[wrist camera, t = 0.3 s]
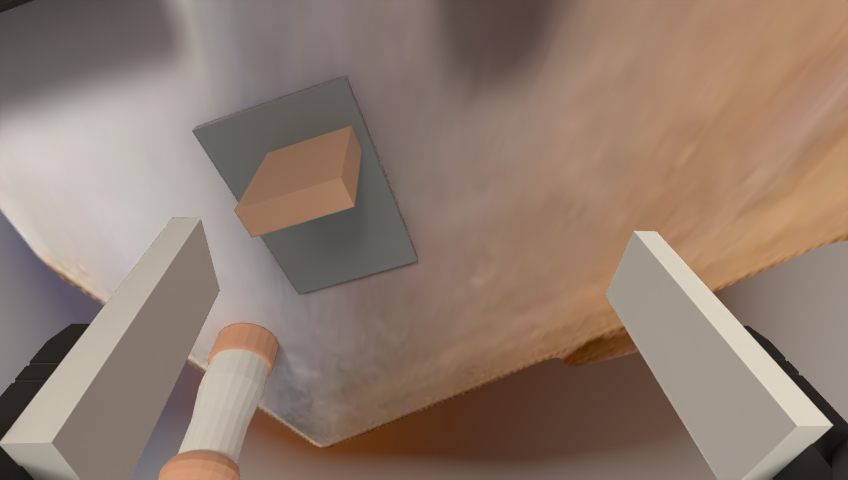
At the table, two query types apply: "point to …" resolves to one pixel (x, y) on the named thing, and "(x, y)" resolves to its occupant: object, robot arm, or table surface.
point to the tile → (302, 183)
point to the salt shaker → (224, 405)
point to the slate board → (329, 235)
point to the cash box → (11, 4)
